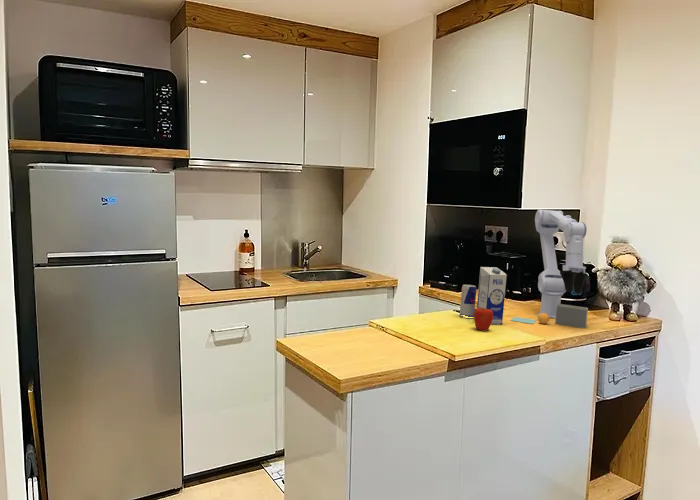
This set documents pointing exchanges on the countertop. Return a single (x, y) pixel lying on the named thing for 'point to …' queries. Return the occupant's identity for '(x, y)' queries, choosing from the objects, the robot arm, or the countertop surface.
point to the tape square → (523, 320)
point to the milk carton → (492, 292)
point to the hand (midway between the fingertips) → (573, 292)
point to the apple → (483, 318)
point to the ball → (543, 318)
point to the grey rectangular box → (571, 315)
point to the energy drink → (468, 300)
